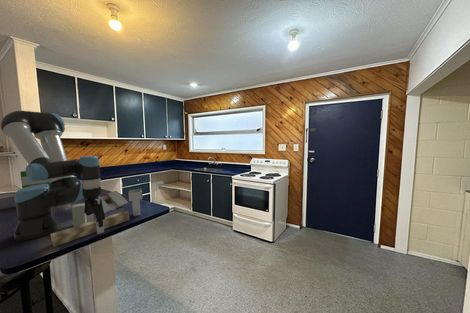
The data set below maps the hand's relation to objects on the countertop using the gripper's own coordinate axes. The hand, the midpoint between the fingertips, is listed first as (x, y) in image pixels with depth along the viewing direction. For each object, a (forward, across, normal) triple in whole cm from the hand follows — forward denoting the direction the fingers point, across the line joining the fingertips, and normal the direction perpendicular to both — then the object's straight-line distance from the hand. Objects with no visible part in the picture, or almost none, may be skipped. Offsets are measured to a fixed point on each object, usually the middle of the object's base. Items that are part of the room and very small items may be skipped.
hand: (95, 230), depth 97 cm
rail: (+1, 0, 0) cm, 1 cm away
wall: (+1, +29, -20) cm, 35 cm away
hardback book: (+1, +85, +3) cm, 85 cm away
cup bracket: (0, +2, -22) cm, 23 cm away
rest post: (0, +14, +2) cm, 15 cm away
